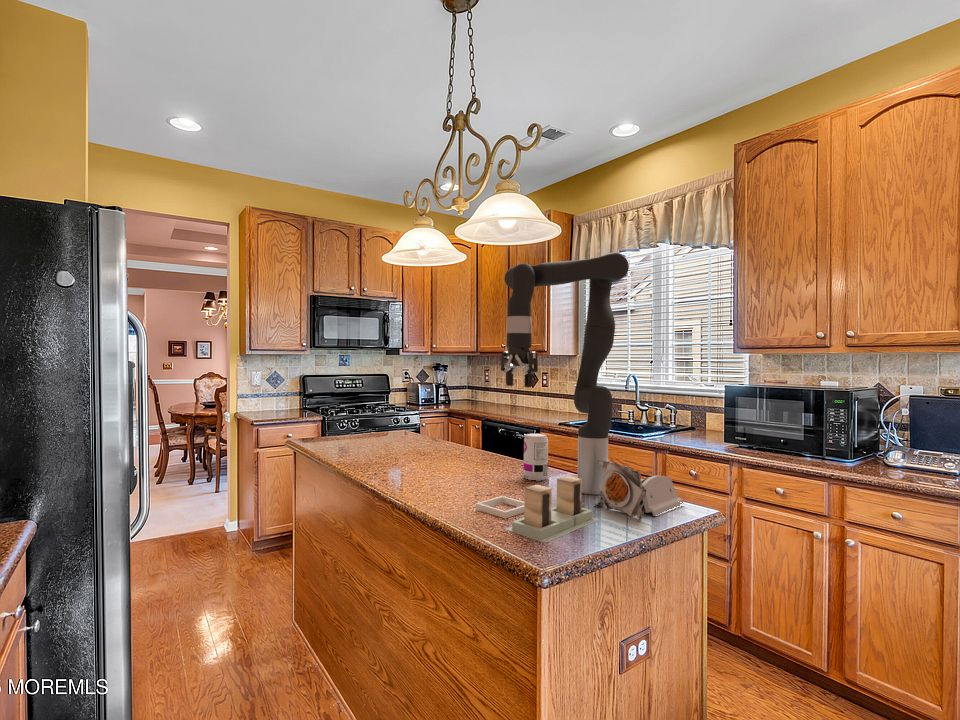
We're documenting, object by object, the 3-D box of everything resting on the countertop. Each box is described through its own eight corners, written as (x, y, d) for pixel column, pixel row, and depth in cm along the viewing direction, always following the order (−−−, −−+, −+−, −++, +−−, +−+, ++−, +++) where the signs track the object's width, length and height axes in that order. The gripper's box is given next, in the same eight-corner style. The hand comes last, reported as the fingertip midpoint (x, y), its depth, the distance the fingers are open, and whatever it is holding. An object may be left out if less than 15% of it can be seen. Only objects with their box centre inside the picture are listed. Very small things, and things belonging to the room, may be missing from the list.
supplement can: (521, 480, 170) (521, 436, 170) (526, 474, 178) (527, 432, 178) (545, 482, 168) (545, 437, 168) (549, 476, 176) (549, 433, 176)
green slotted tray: (560, 512, 136) (561, 501, 136) (600, 523, 127) (600, 511, 127) (504, 533, 119) (504, 520, 119) (545, 547, 111) (545, 533, 111)
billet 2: (566, 514, 131) (566, 475, 131) (581, 518, 128) (582, 479, 128) (556, 518, 128) (556, 478, 128) (571, 522, 124) (572, 482, 124)
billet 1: (535, 525, 122) (536, 484, 122) (551, 530, 118) (552, 488, 118) (524, 530, 118) (524, 487, 118) (539, 535, 115) (540, 491, 115)
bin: (502, 504, 142) (502, 495, 142) (531, 513, 134) (531, 504, 134) (475, 512, 134) (475, 503, 134) (505, 522, 127) (505, 512, 127)
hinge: (654, 517, 132) (643, 479, 135) (639, 519, 136) (628, 482, 138) (684, 505, 143) (674, 470, 146) (670, 507, 147) (659, 473, 149)
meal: (591, 507, 141) (592, 460, 140) (601, 505, 143) (602, 459, 143) (636, 522, 128) (637, 471, 128) (646, 519, 131) (647, 469, 131)
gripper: (544, 331, 146) (544, 387, 146) (513, 333, 158) (513, 384, 158) (525, 330, 142) (524, 388, 142) (494, 332, 153) (494, 385, 153)
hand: (518, 386), depth 150 cm, fingers open, 8 cm apart
